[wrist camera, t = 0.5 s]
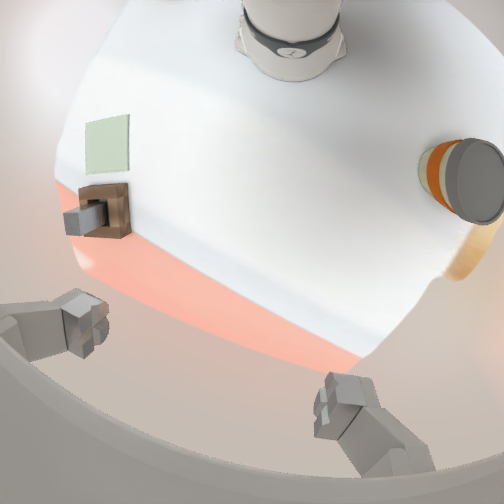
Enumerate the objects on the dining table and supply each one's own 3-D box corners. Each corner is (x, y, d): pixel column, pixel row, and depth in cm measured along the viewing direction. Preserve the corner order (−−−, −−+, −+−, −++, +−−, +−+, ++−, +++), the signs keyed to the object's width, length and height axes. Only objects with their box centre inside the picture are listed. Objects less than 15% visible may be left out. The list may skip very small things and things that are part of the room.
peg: (101, 198, 49) (63, 212, 38) (116, 198, 49) (78, 212, 38) (103, 217, 50) (66, 235, 39) (117, 217, 50) (81, 235, 39)
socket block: (90, 185, 48) (78, 188, 45) (127, 183, 47) (116, 186, 44) (94, 230, 52) (83, 236, 48) (131, 232, 51) (120, 238, 47)
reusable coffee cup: (440, 218, 42) (486, 243, 28) (397, 176, 41) (440, 189, 27) (470, 168, 37) (519, 179, 24) (430, 124, 36) (478, 119, 22)
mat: (87, 123, 44) (85, 123, 43) (129, 114, 42) (127, 114, 42) (87, 174, 47) (86, 174, 47) (128, 170, 46) (127, 170, 46)
